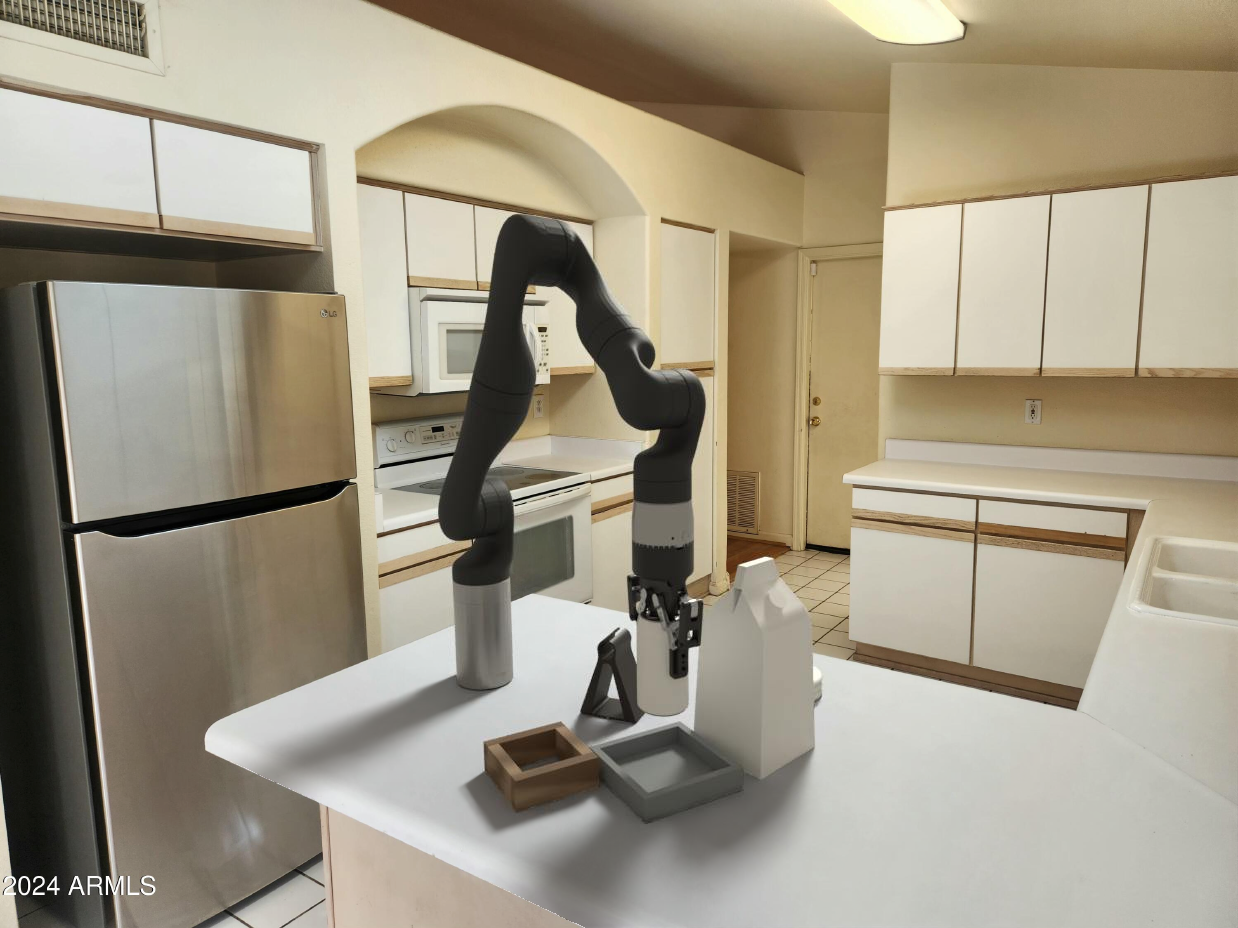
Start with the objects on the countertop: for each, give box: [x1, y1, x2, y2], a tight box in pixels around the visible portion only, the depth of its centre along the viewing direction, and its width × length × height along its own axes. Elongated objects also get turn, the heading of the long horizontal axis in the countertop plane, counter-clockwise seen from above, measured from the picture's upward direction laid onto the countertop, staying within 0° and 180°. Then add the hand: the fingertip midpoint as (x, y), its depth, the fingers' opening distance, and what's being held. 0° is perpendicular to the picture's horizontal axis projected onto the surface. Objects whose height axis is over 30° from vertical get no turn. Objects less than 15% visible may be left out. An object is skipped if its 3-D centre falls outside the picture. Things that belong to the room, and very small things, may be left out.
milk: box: [693, 556, 816, 780], centre depth 108 cm, size 12×12×26 cm
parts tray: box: [588, 721, 744, 824], centre depth 102 cm, size 14×14×3 cm
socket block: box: [482, 720, 600, 814], centre depth 102 cm, size 11×11×4 cm
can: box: [636, 609, 690, 718], centre depth 100 cm, size 6×6×12 cm
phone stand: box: [579, 627, 645, 725], centre depth 120 cm, size 9×6×12 cm, turn 67°
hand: (663, 666), depth 100 cm, fingers closed on can, 6 cm apart
